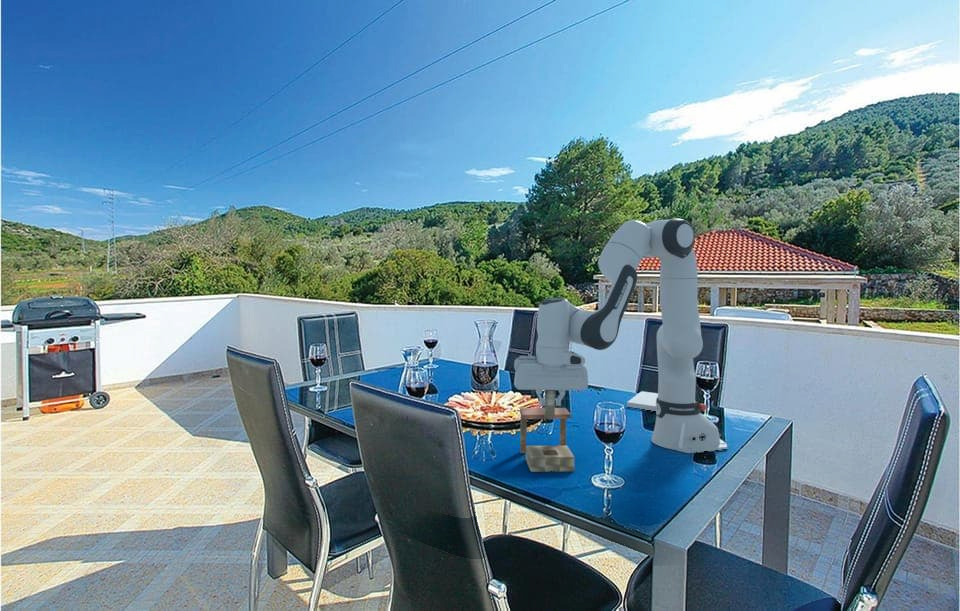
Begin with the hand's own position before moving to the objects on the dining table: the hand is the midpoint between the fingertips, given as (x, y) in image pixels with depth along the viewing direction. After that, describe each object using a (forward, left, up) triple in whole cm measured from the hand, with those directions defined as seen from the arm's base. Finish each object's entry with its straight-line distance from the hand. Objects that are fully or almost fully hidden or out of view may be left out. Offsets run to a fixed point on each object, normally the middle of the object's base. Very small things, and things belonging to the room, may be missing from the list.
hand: (550, 405), depth 136 cm
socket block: (0, -1, -17) cm, 17 cm away
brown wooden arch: (0, -9, -17) cm, 20 cm away
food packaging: (-56, -64, -18) cm, 87 cm away
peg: (0, 0, -4) cm, 4 cm away
